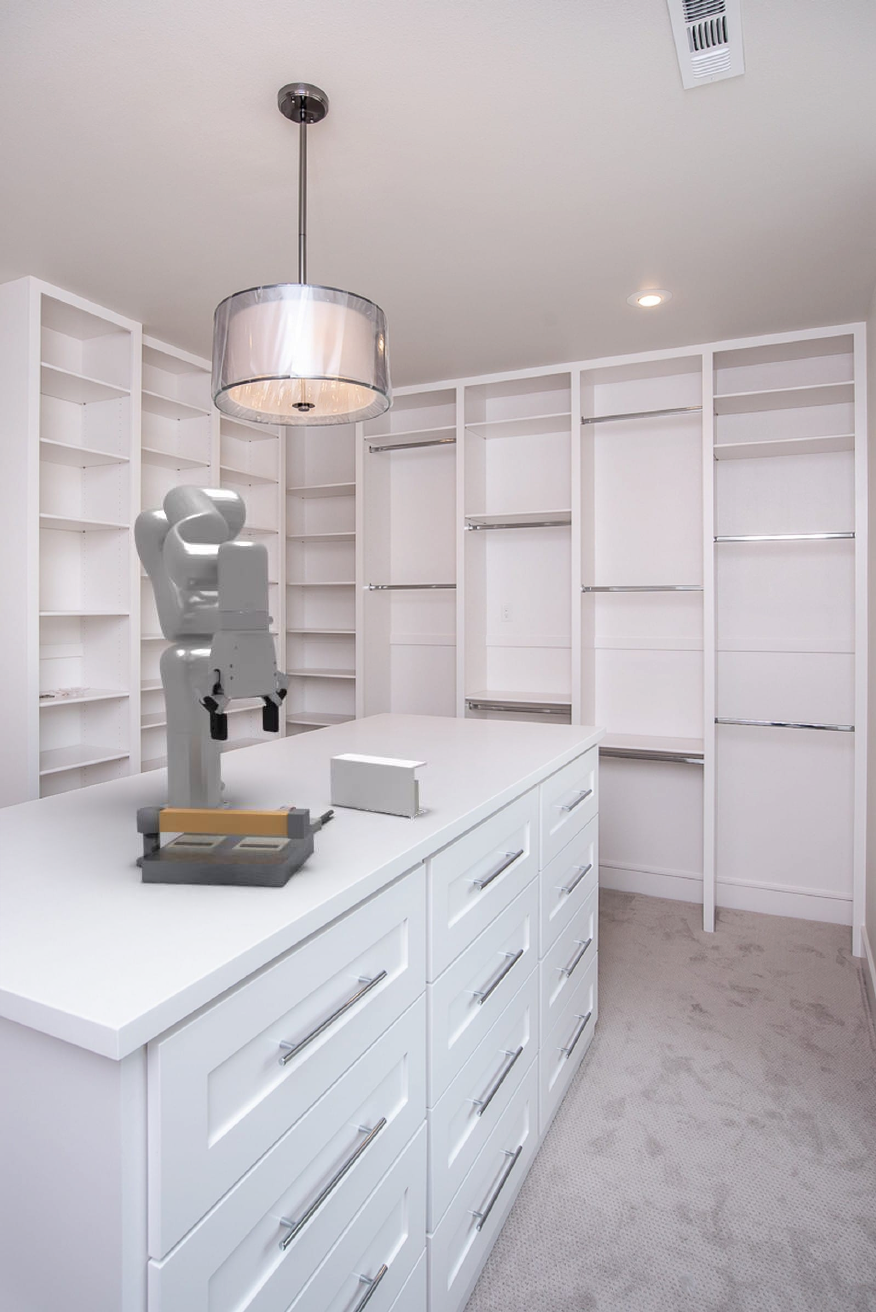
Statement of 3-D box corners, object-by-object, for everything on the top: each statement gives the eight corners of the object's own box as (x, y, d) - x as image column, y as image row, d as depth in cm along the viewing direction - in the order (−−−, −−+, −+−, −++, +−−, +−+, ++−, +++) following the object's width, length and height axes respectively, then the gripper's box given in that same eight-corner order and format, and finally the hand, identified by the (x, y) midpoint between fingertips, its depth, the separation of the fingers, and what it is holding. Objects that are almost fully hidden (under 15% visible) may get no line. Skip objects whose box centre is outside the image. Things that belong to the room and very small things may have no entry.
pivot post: (145, 857, 118) (144, 828, 117) (173, 858, 117) (172, 829, 117) (130, 867, 113) (130, 836, 113) (159, 867, 113) (158, 837, 113)
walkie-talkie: (293, 852, 121) (337, 819, 141) (293, 824, 121) (337, 795, 141) (242, 848, 123) (293, 816, 143) (241, 821, 123) (292, 793, 143)
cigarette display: (427, 812, 144) (427, 762, 144) (411, 819, 140) (411, 767, 139) (343, 799, 155) (342, 752, 154) (325, 805, 150) (324, 757, 150)
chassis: (191, 847, 123) (190, 825, 123) (313, 850, 121) (313, 828, 120) (142, 881, 107) (141, 856, 107) (282, 886, 105) (281, 861, 105)
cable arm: (132, 835, 113) (131, 810, 113) (145, 827, 117) (144, 804, 117) (302, 840, 110) (302, 815, 110) (310, 832, 114) (310, 808, 114)
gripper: (272, 623, 127) (274, 726, 127) (179, 624, 113) (182, 740, 114) (303, 623, 122) (304, 730, 123) (210, 624, 108) (213, 745, 109)
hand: (245, 735), depth 118 cm, fingers open, 9 cm apart
